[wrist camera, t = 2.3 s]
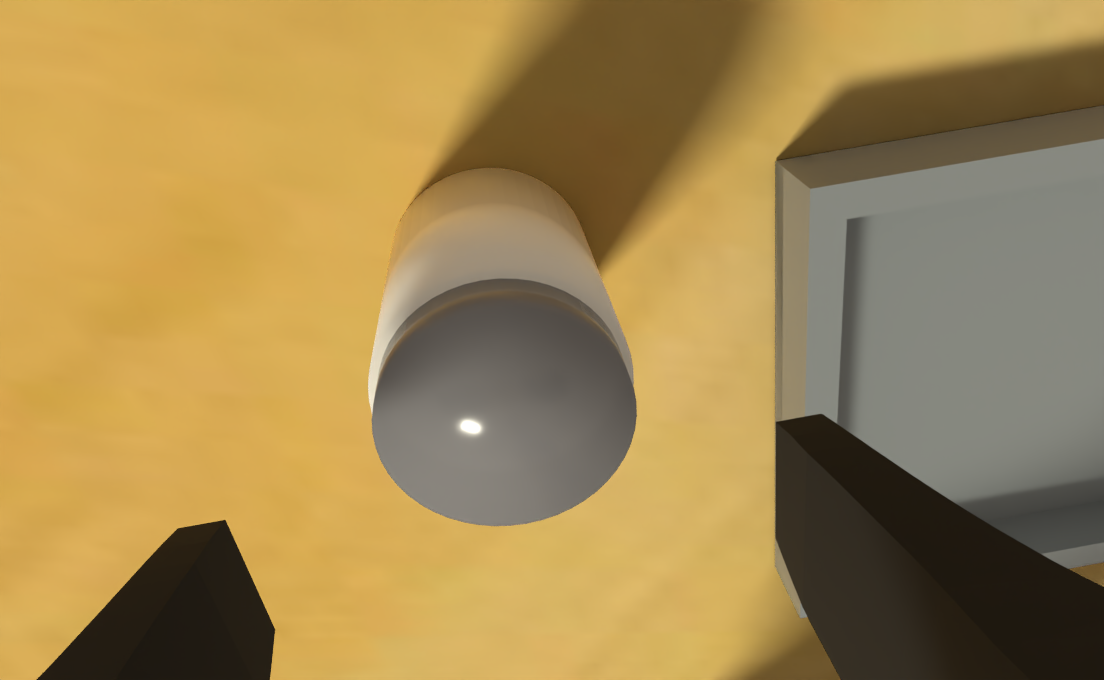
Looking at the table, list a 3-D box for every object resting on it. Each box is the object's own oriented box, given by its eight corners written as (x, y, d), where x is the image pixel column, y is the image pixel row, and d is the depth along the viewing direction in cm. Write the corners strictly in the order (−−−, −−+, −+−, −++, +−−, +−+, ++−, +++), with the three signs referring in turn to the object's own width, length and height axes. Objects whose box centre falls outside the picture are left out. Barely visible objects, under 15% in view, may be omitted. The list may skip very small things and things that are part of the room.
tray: (1177, 492, 24) (1232, 538, 23) (774, 566, 24) (800, 618, 22) (1315, 69, 18) (1406, 86, 16) (775, 161, 18) (810, 189, 16)
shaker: (597, 331, 19) (656, 506, 14) (415, 362, 19) (399, 553, 14) (574, 151, 17) (632, 273, 12) (369, 186, 17) (327, 326, 11)
